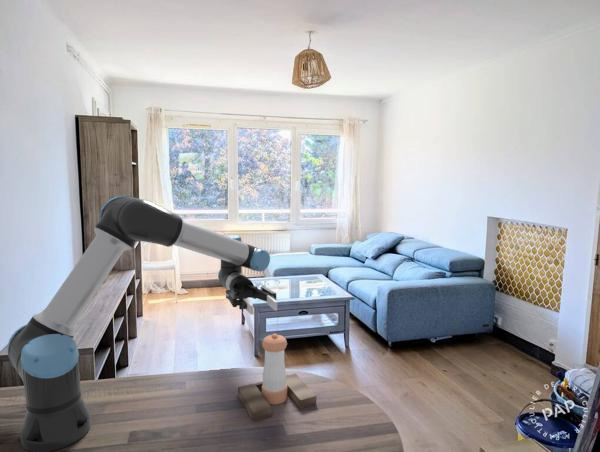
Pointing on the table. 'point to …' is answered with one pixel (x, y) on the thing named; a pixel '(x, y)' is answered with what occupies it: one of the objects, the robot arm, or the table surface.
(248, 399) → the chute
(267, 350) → the salt shaker
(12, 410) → the table surface
